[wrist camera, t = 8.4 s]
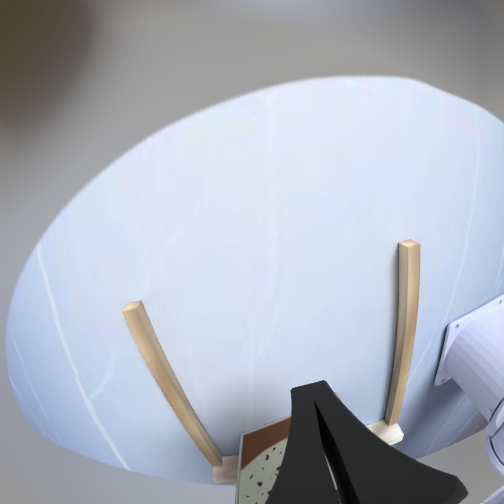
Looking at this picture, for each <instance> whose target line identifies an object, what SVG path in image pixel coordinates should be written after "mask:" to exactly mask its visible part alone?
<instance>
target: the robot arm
mask: <svg viewBox="0 0 504 504" xmlns="http://www.w3.org/2000/svg"><path fill="white" fill-rule="evenodd" d="M452 378H453V379H454V380H455V382H456V383H457V384H458V385H459V386H460V387H461V389H462V390H463V391H464V392H465V393H466V395H467V396H468V397H469V398H470V399H471V401H472V402H473V403H474V404H475V406H476V407H477V408H478V409H479V411H480V412H481V413H482V414H483V416H484V417H485V418H486V419H487V421H488V422H489V424H488V425H487V427H486V428H485V430H486V432H487V433H488V437H487V438H486V456H487V459H488V461H489V463H490V465H491V466H492V467H493V469H494V470H495V471H496V472H497V473H498V474H500V475H502V476H504V294H502V295H501V296H499V297H497V298H496V299H494V300H492V301H491V302H489V303H487V304H485V305H484V306H482V307H480V308H478V309H476V310H475V311H473V312H471V313H469V314H467V315H465V316H463V317H461V318H459V319H457V320H455V321H453V322H451V323H450V324H449V325H448V327H447V332H446V337H445V342H444V346H443V351H442V355H441V359H440V363H439V367H438V371H437V375H436V378H435V382H434V384H435V386H439V385H441V384H443V383H444V382H446V381H448V380H450V379H452ZM290 391H291V399H292V410H291V421H290V429H289V435H288V440H287V444H286V449H285V453H284V456H283V460H282V463H281V466H280V469H279V472H278V475H277V477H276V480H275V482H274V485H273V487H272V490H271V492H270V494H269V496H268V498H267V500H266V502H265V504H458V503H460V502H461V501H462V500H463V499H464V498H466V497H467V495H468V491H467V489H466V487H465V486H464V485H463V483H462V482H461V481H460V480H459V479H458V478H457V476H454V475H452V474H448V473H445V472H442V471H439V470H436V469H434V468H432V467H429V466H427V465H424V464H422V463H420V462H418V461H416V460H414V459H413V458H411V457H409V456H407V455H405V454H403V453H401V452H400V451H398V450H397V449H395V448H394V447H392V446H390V445H389V444H388V443H386V442H385V441H383V440H382V439H381V438H379V437H378V436H377V435H375V434H374V433H373V432H372V431H371V430H369V429H368V428H367V427H366V426H365V425H364V424H363V423H362V422H361V421H359V420H358V419H357V418H356V417H355V416H354V415H353V414H352V413H351V412H350V410H349V409H348V408H347V407H346V406H345V405H344V404H343V403H342V402H341V400H340V399H339V398H338V397H337V396H336V394H335V393H334V392H333V390H332V389H331V388H330V386H329V385H328V383H327V382H326V381H324V380H323V381H319V382H315V383H311V384H307V385H303V386H299V387H295V388H292V389H291V390H290ZM324 453H325V454H324ZM325 456H326V457H325ZM326 458H327V460H326ZM327 461H328V463H327ZM328 464H329V466H330V469H331V471H332V474H333V477H334V480H335V483H336V486H337V490H338V494H339V497H338V494H337V491H336V488H335V485H334V482H333V479H332V476H331V473H330V470H329V466H328ZM339 498H340V500H339ZM340 502H341V503H340ZM480 504H504V485H503V486H502V487H501V488H499V489H498V490H497V491H496V492H494V493H493V494H492V495H491V496H489V497H488V498H487V499H486V500H484V501H483V502H482V503H480Z"/></svg>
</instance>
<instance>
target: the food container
mask: <svg viewBox="0 0 504 504" xmlns="http://www.w3.org/2000/svg"><path fill="white" fill-rule="evenodd" d="M335 394H336V396H337V397H338V395H337V393H336V392H335ZM338 398H339V397H338ZM339 399H340V398H339ZM290 421H291V414H289V415H287V416H285V417H282V418H280V419H278V420H275V421H273V422H270V423H268V424H265V425H263V426H260V427H258V428H255V429H252V430H250V431H247V432H244V433H241V434H240V446H239V459H238V471H237V484H236V496H235V504H265V502H266V500H267V498H268V496H269V494H270V492H271V490H272V487H273V485H274V482H275V480H276V477H277V475H278V472H279V469H280V466H281V463H282V460H283V456H284V453H285V449H286V444H287V440H288V435H289V429H290ZM324 454H325V453H324ZM325 457H326V456H325ZM326 460H327V458H326ZM327 463H328V461H327ZM328 466H329V464H328ZM329 470H330V473H331V476H332V479H333V482H334V485H335V488H336V491H337V494H338V490H337V486H336V483H335V480H334V477H333V474H332V471H331V469H330V466H329ZM338 497H339V494H338ZM339 500H340V498H339ZM340 503H341V502H340Z"/></svg>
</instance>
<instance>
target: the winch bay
mask: <svg viewBox="0 0 504 504" xmlns="http://www.w3.org/2000/svg"><path fill="white" fill-rule="evenodd" d="M419 284H420V244H419V243H417V242H415V241H413V240H411V239H410V240H406V241H402V242H399V309H398V326H397V338H396V349H395V358H394V366H393V373H392V380H391V387H390V393H389V398H388V404H387V409H386V414H385V419H382V420H380V421H377V422H374V423H372V424H369V425H366V427H367V428H368V429H369V430H371V431H372V432H373V433H374V434H375V435H377V436H378V437H379V438H381V439H382V440H383V441H385V442H386V443H388V444H389V445H392V444H395V443H397V442H399V441H402V438H403V436H404V434H403V432H402V431H401V429H400V427H399V425H398V423H397V422H398V418H399V414H400V411H401V407H402V403H403V399H404V394H405V390H406V385H407V381H408V376H409V370H410V365H411V359H412V353H413V346H414V339H415V331H416V323H417V313H418V301H419ZM122 313H123V315H124V318H125V320H126V322H127V324H128V327H129V329H130V331H131V333H132V335H133V337H134V339H135V341H136V343H137V346H138V348H139V350H140V352H141V354H142V355H143V357H144V359H145V361H146V363H147V365H148V367H149V369H150V371H151V373H152V374H153V376H154V378H155V380H156V382H157V383H158V385H159V387H160V389H161V390H162V392H163V394H164V395H165V397H166V399H167V401H168V402H169V404H170V405H171V407H172V409H173V410H174V412H175V413H176V415H177V417H178V418H179V420H180V421H181V423H182V424H183V426H184V427H185V429H186V430H187V432H188V433H189V435H190V436H191V438H192V439H193V440H194V442H195V443H196V445H197V446H198V447H199V449H200V450H201V452H202V453H203V454H204V456H205V457H206V458H207V460H208V461H209V462H210V464H211V465H212V466H213V472H212V481H213V482H214V483H215V484H232V483H237V471H238V459H239V455H235V456H225V457H222V455H221V454H220V452H219V451H218V449H217V448H216V446H215V445H214V443H213V442H212V440H211V438H210V437H209V435H208V434H207V432H206V430H205V429H204V427H203V425H202V424H201V422H200V420H199V419H198V417H197V415H196V413H195V412H194V410H193V408H192V406H191V405H190V403H189V401H188V399H187V397H186V396H185V394H184V392H183V390H182V388H181V386H180V384H179V382H178V380H177V379H176V377H175V375H174V373H173V371H172V369H171V367H170V365H169V363H168V360H167V358H166V356H165V354H164V352H163V350H162V348H161V346H160V343H159V341H158V339H157V337H156V335H155V332H154V330H153V328H152V325H151V323H150V321H149V318H148V316H147V313H146V311H145V309H144V306H143V304H142V301H137V302H131V303H128V304H127V306H126V307H125V308H124V310H123V311H122Z"/></svg>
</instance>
